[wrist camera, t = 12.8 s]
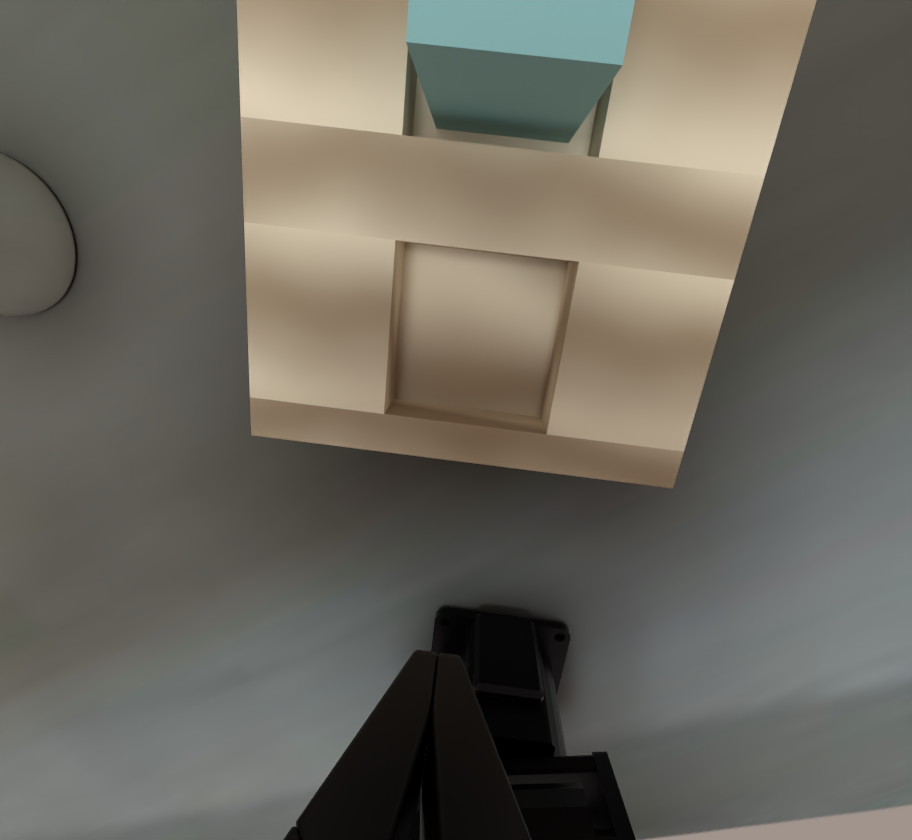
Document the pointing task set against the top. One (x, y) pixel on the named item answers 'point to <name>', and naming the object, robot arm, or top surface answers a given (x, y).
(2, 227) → the beer glass
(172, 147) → the top surface
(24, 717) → the top surface
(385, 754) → the robot arm
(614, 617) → the top surface
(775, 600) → the top surface
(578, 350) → the pocket board
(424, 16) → the teal block
